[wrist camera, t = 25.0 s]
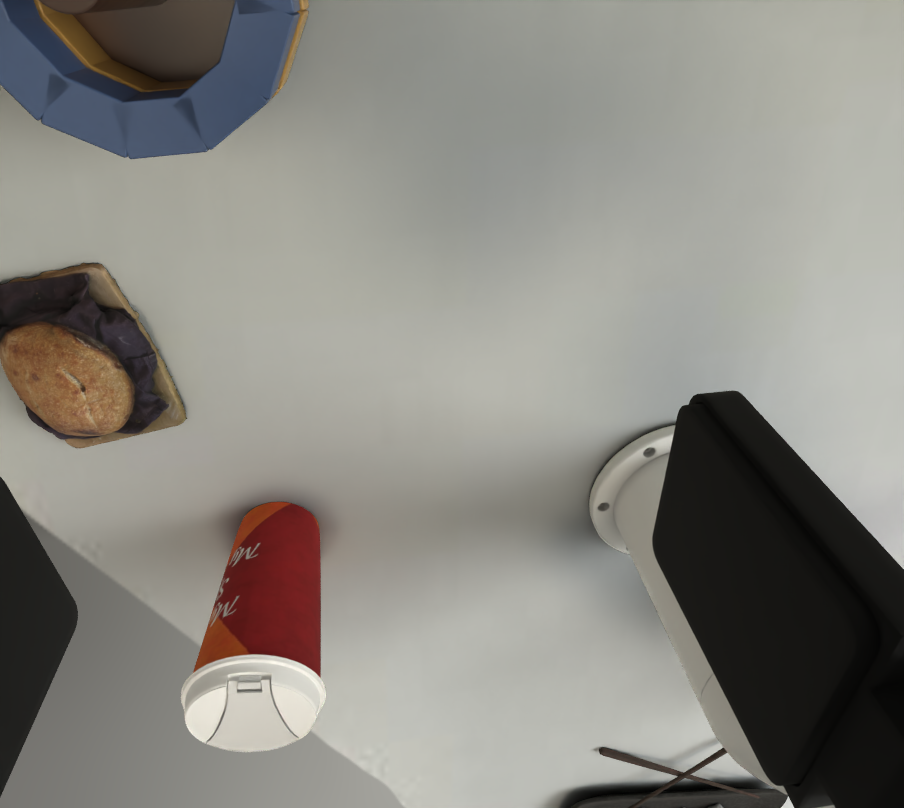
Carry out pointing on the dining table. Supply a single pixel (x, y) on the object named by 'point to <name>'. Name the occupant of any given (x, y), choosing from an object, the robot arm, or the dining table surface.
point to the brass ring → (103, 64)
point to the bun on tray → (83, 358)
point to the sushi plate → (711, 804)
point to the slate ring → (146, 113)
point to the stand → (155, 33)
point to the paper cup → (262, 638)
